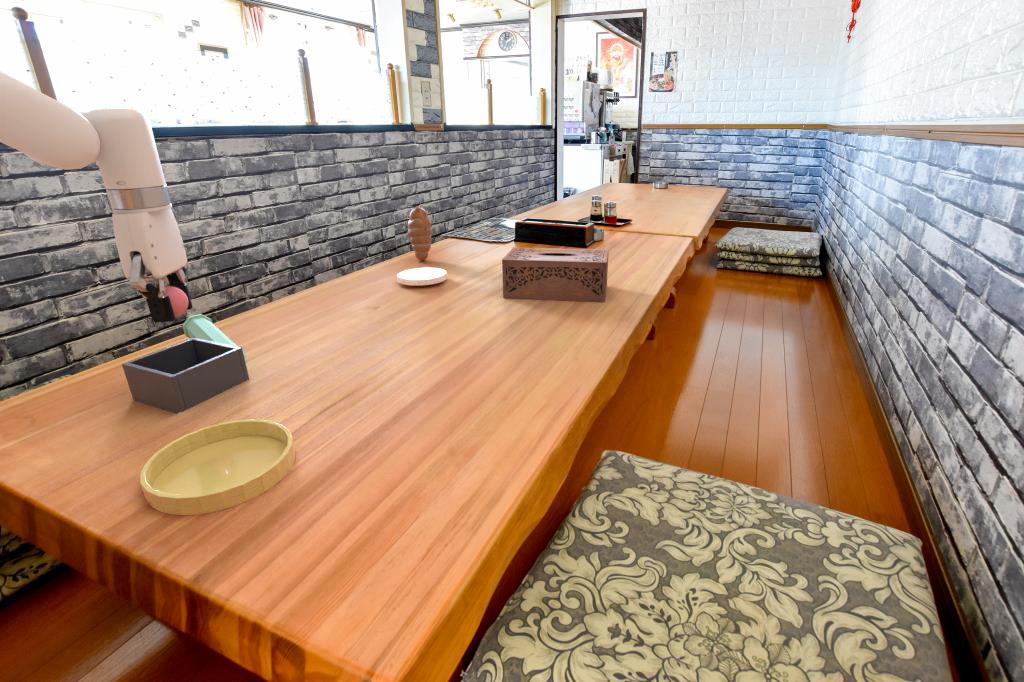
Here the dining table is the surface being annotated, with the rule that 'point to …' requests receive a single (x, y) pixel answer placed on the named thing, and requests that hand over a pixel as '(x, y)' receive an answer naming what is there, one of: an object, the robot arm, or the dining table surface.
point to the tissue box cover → (555, 274)
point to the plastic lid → (421, 276)
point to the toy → (177, 300)
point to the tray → (217, 467)
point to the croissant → (420, 232)
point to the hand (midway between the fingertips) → (173, 314)
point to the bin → (185, 374)
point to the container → (205, 330)
